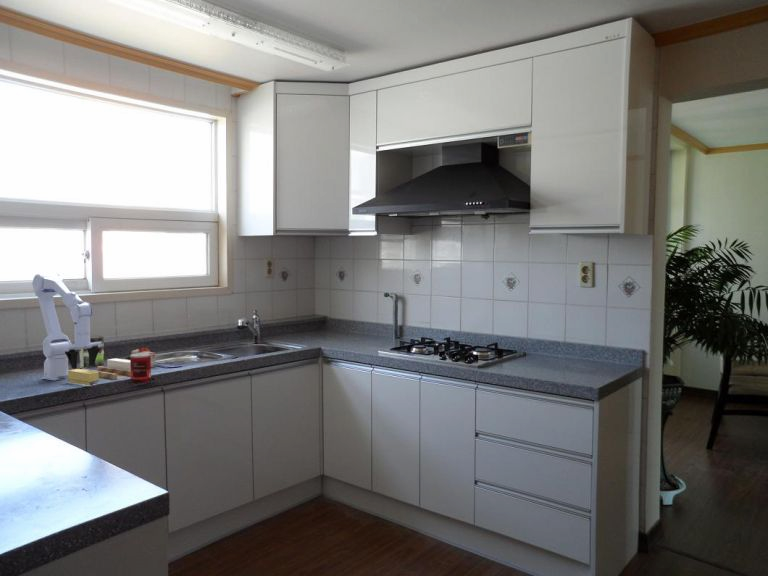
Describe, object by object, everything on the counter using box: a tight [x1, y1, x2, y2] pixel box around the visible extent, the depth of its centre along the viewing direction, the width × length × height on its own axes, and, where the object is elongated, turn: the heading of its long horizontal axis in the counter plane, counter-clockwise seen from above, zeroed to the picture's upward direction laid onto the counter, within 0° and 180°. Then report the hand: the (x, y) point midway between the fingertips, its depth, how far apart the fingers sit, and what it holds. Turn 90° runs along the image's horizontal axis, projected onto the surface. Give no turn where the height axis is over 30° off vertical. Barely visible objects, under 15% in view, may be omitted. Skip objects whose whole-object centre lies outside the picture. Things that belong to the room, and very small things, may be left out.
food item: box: [130, 346, 157, 368], centre depth 271 cm, size 14×8×10 cm, turn 46°
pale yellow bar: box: [67, 368, 100, 386], centre depth 241 cm, size 14×4×5 cm, turn 60°
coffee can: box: [79, 335, 105, 369], centre depth 275 cm, size 10×10×14 cm
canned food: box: [129, 353, 152, 384], centre depth 244 cm, size 8×8×11 cm
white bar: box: [106, 358, 131, 371], centre depth 256 cm, size 14×4×5 cm, turn 60°
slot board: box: [81, 365, 131, 380], centre depth 253 cm, size 22×16×4 cm
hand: (83, 366), depth 241 cm, fingers open, 7 cm apart
